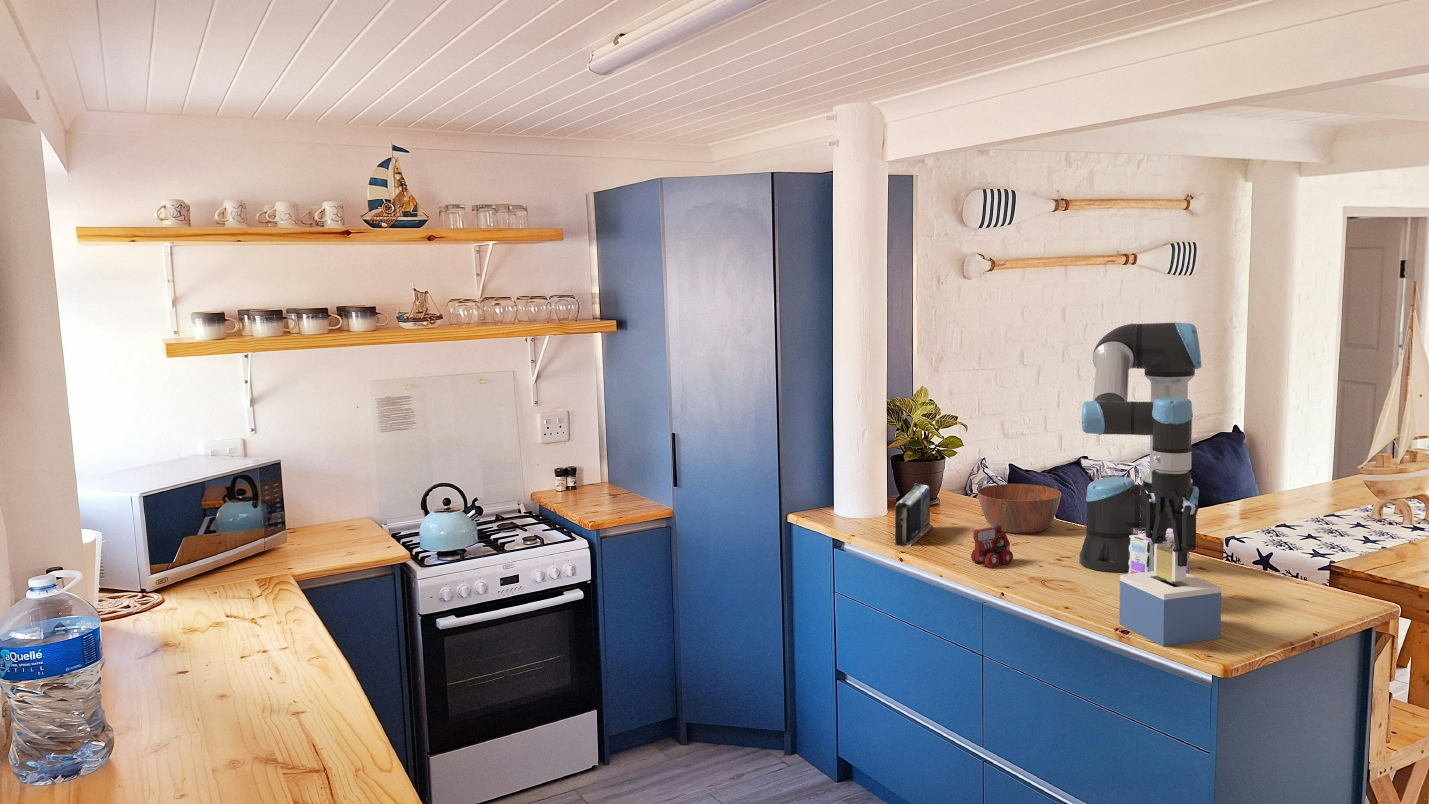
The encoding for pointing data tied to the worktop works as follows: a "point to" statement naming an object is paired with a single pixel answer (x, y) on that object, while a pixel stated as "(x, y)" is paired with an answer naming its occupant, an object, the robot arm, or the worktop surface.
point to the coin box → (1170, 608)
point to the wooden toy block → (1164, 563)
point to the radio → (912, 516)
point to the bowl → (1019, 507)
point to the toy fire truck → (991, 547)
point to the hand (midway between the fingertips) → (1169, 576)
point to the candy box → (1146, 552)
